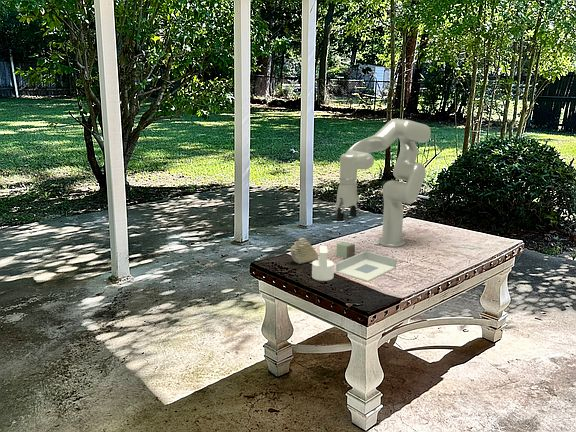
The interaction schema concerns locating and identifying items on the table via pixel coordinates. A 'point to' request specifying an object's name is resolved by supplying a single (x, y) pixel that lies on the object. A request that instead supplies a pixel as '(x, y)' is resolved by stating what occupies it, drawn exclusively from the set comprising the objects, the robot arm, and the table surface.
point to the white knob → (322, 266)
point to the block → (345, 250)
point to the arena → (366, 266)
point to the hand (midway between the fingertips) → (346, 218)
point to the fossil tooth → (303, 251)
